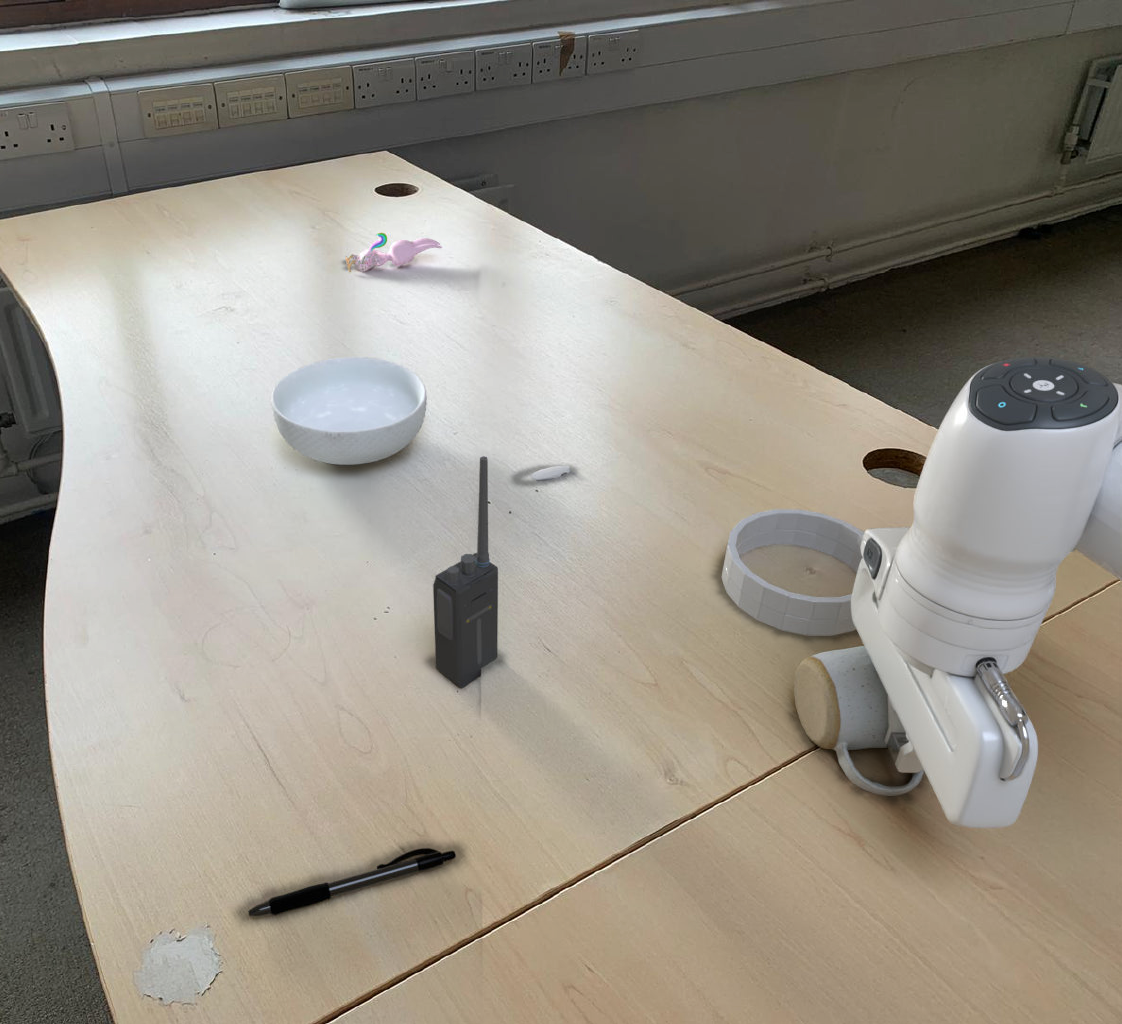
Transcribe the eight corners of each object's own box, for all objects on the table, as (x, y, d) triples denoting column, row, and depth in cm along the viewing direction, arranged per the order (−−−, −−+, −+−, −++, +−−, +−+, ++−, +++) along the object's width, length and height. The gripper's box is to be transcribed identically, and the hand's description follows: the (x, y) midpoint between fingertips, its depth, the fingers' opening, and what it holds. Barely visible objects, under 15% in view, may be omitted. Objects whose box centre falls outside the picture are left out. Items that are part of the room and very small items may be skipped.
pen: (450, 846, 68) (450, 835, 68) (457, 866, 67) (457, 855, 66) (247, 903, 65) (244, 893, 64) (251, 926, 64) (248, 916, 63)
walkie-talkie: (472, 642, 85) (473, 443, 73) (500, 663, 83) (505, 461, 71) (430, 669, 82) (424, 467, 71) (457, 691, 80) (456, 486, 69)
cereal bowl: (248, 466, 109) (239, 410, 104) (325, 398, 121) (320, 346, 117) (385, 501, 103) (382, 443, 98) (451, 427, 115) (451, 372, 111)
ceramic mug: (780, 701, 79) (799, 629, 74) (878, 691, 80) (903, 619, 75) (839, 810, 70) (864, 736, 66) (948, 798, 71) (981, 724, 66)
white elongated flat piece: (519, 494, 104) (519, 485, 103) (512, 481, 106) (512, 473, 105) (574, 481, 105) (574, 472, 104) (566, 469, 107) (565, 460, 106)
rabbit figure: (352, 285, 153) (446, 262, 153) (343, 249, 149) (439, 226, 150) (348, 270, 158) (439, 248, 158) (339, 235, 154) (432, 212, 155)
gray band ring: (849, 547, 95) (859, 509, 93) (897, 643, 84) (911, 602, 82) (708, 546, 96) (715, 508, 93) (738, 641, 85) (746, 601, 82)
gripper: (1095, 736, 54) (1013, 888, 62) (945, 516, 70) (896, 658, 78) (977, 735, 54) (910, 887, 62) (856, 516, 70) (815, 658, 78)
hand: (901, 757), depth 70 cm, fingers closed
